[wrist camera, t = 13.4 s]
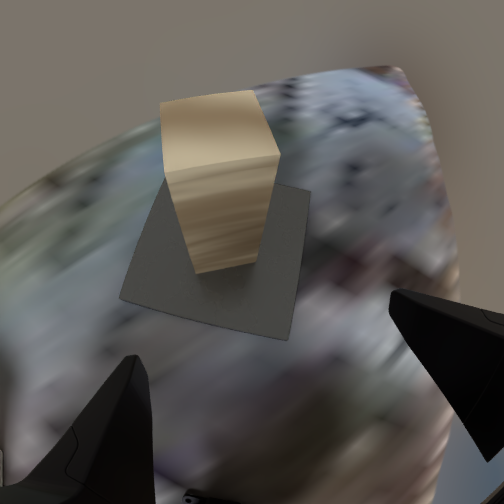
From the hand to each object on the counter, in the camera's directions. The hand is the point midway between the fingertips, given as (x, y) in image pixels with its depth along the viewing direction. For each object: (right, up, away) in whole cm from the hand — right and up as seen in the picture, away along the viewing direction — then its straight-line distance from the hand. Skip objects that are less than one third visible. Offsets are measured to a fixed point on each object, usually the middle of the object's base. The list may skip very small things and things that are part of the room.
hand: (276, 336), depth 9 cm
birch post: (-3, +4, +15) cm, 16 cm away
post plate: (-3, +3, +16) cm, 17 cm away
